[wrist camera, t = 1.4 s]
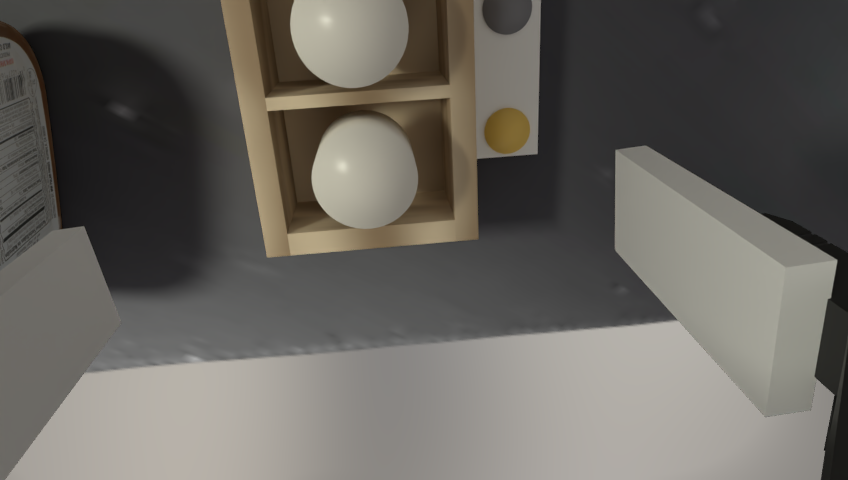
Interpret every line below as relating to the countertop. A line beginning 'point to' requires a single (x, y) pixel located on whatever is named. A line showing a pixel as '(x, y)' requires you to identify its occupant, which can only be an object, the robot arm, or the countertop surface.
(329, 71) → the button
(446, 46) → the wooden compartment tray
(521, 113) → the card
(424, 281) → the countertop surface
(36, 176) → the tin
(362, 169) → the button
